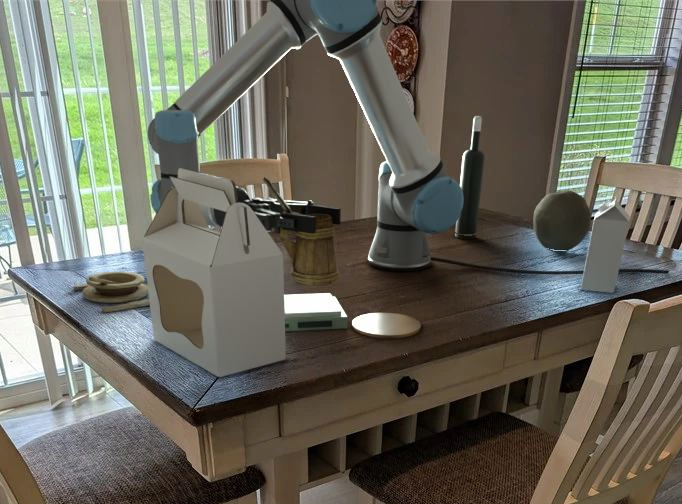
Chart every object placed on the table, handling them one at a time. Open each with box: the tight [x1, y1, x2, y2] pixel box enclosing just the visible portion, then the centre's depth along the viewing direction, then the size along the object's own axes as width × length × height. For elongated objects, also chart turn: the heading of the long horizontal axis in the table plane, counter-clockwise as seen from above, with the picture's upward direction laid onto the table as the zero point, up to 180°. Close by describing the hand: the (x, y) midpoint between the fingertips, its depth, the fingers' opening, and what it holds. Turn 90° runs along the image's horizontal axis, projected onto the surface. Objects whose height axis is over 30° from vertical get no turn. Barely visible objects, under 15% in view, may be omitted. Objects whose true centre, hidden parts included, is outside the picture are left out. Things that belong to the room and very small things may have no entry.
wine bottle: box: [454, 115, 486, 240], centre depth 195 cm, size 6×6×30 cm
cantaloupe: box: [532, 190, 591, 253], centre depth 186 cm, size 14×14×15 cm
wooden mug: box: [262, 176, 341, 287], centre depth 131 cm, size 9×14×18 cm, turn 100°
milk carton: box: [580, 194, 631, 294], centre depth 158 cm, size 7×7×19 cm
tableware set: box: [73, 271, 150, 313], centre depth 153 cm, size 30×20×6 cm, turn 125°
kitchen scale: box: [284, 292, 349, 332], centre depth 139 cm, size 14×13×3 cm
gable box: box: [141, 168, 287, 379], centre depth 118 cm, size 22×13×28 cm, turn 40°
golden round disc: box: [351, 312, 422, 339], centre depth 137 cm, size 13×13×1 cm
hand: (327, 220), depth 129 cm, fingers closed on wooden mug, 8 cm apart
